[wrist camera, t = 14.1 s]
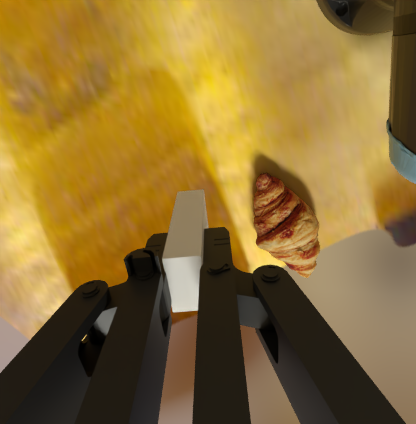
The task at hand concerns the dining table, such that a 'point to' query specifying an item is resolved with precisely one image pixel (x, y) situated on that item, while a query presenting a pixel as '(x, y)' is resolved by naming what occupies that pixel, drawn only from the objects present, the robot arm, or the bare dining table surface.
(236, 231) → the dining table surface
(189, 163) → the dining table surface
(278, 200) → the croissant
